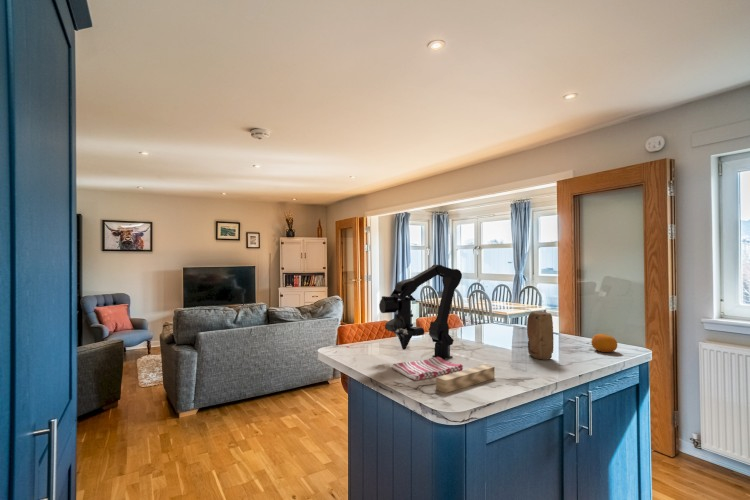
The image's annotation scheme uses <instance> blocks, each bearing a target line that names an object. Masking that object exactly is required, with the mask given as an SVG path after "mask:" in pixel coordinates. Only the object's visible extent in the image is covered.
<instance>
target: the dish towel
mask: <svg viewBox="0 0 750 500" xmlns="http://www.w3.org/2000/svg"><path fill="white" fill-rule="evenodd" d="M391 368H392V369H393V370H395V371H396V372H398V373H400V374H401V375H403V376H405V377H407V378H409V379H411V380H413V381H420V380H425V379H429V378H430V379H431V378H436V377H440V376H443V375H447V374H451V373H455V372H459V371H462V370H464V365H463V364H462V363H451V362H449V361H446V359H444V360H443V359H442V358H440V357H431V358H427V359H420V360H415V361H402V362H397V363H392V364H391Z"/></svg>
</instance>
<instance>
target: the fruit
mask: <svg viewBox="0 0 750 500" xmlns="http://www.w3.org/2000/svg"><path fill="white" fill-rule="evenodd" d="M591 346H592V348H594V350H596V351H597V350H598V352H600V351H601V353H613V352H615V351H616V350H617V348H618V341H617V340H616V338H614V337H613V336H611V335H608V334H607V333H606V334H605V333H597V334H595V335H593V337H592V339H591Z"/></svg>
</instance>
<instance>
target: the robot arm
mask: <svg viewBox="0 0 750 500" xmlns="http://www.w3.org/2000/svg"><path fill="white" fill-rule="evenodd" d="M437 276H438V277H440V278H442V280H441V281H442V285H443V290H442V292H441V293H442V294H441V297H440V298H441V299H440V301H439V306H438V310H437V315H436V318H435V320H434V321H430V323H429V328H428V331H429V332H428V335H429V337H430V338H431V340H432V342H433V343H434V354H433V355H432V356H431V358H435V357H440V358H442V359H443V360H448V359H452V358H453V355H451V345H453V343H454V341H455V340H454V339H453V337H452V336H451V335H450V334H449V333H450V327H449V322H448V321H449V317H450V313H451V312H450V311H451V307H452V304H453V299H454V295H455V290H456V289H457V287H458V286H459V285H460V283H461V281H462V279H463V278H462V277H463V273H462V272H461V270H460V269H458V268H450V267H447V266H444V265H442V264H433V265H432V266H430V267H428V268H427V269H425V270H423V271H421V272H419V273H418V274H416V275H414V276H413V277H411V278H408V279H404V280H400V281H398V282H396V284H395V287H394V289H393V291H392V292H391V294H390V296H384V295H382V296H381V299H380V301H379V304H378V305H379V306H378V307H379V311H380V313H382V314H392V313H394V318H392V319H390V320H388V321H387V322H385V325H384V329H385V330H387V331H388V332H392V333H393V334H395V335H396V336H397V337H398V339H399V342H400V346H401V349H402V350H405V351H406V349H407V348H408V345H409V343H410V341H411V339H412V337H417V336H418V337H419V336H424V335H425V329H424V328H423V327H422V326H414V324H413V323H412V318H413V317H414V314H413V313H412V302H414V301H415V302H416V298H415V297H413V294H414V293H415V292H416V291H417V289H418V288H419V287H420V286H421V285H422V286H423V284H424V283H427V282H429V281H430V280H432V279H433V278H435V277H437ZM395 313H396V314H395Z"/></svg>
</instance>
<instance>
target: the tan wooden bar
mask: <svg viewBox="0 0 750 500" xmlns="http://www.w3.org/2000/svg"><path fill="white" fill-rule="evenodd" d="M495 373H496V371H495V366H493V365H488V364H482V365H478V366H473V367H470V368H467V369H463V370H462V371H459V372H455V373H451V374H447V375H442V376H436V377H435V389H436V391H439V392H441V393H444V394H447V393H450V392H453V391H456V390H459V389H462V388H466V387H470V386H473V385H476V384H479V383H483V382H486V381H489V380H492V379H495V377H496V376H495Z"/></svg>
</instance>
